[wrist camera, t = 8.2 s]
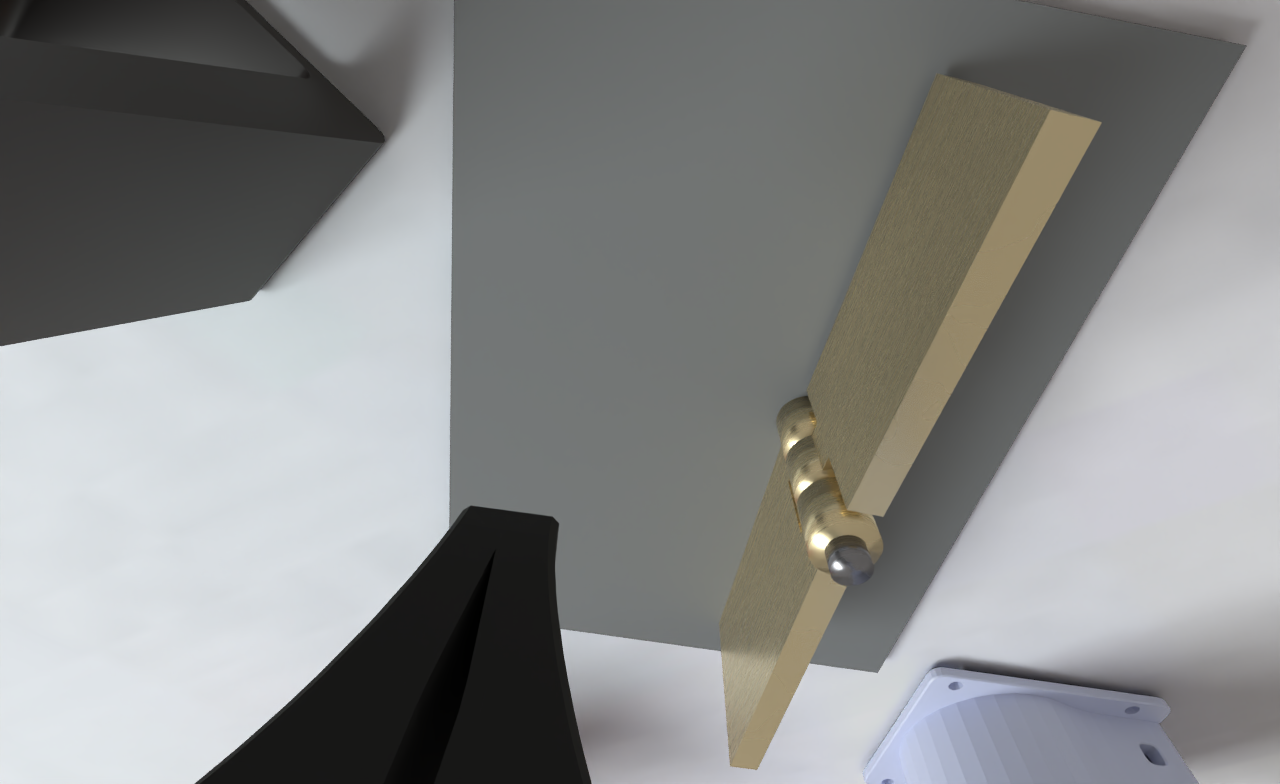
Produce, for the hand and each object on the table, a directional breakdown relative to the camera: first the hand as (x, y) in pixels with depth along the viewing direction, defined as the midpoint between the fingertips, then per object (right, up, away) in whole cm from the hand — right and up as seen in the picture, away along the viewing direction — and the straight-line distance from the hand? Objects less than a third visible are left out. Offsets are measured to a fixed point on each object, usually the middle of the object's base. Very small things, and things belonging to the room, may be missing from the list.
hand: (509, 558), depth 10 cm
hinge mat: (+5, +2, +9) cm, 10 cm away
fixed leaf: (+6, -2, +11) cm, 12 cm away
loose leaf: (+7, +5, +6) cm, 11 cm away
